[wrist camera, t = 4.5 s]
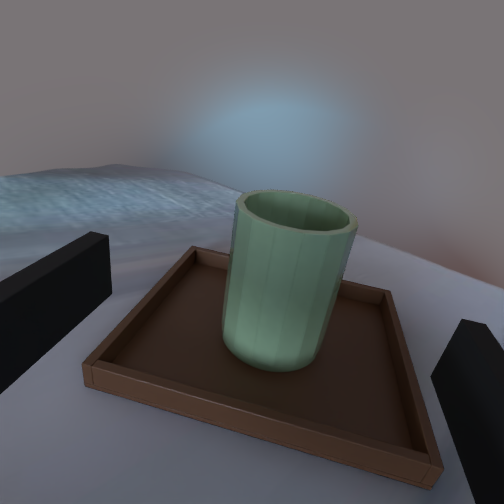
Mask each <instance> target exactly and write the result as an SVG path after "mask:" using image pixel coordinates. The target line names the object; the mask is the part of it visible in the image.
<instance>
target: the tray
mask: <svg viewBox="0 0 504 504" xmlns="http://www.w3.org/2000/svg"><path fill="white" fill-rule="evenodd" d="M229 255H230V254H226V253H222V252H217V251H213V250H209V249H204V248H200V247H195V246H191V247H190V248H189V250H188V251H187V252H186V253H185V254H184V255H183V256H182V257H181V258H180V259H179V260H178V261H177V262H176V263H175V264H174V266H173V267H172V268H171V269H170V270H169V271H168V272H167V273H166V274H165V275H164V276H163V277H162V278H161V279H160V281H159V282H158V283H157V284H156V285H155V286H154V287H153V288H152V289H151V290H150V291H149V292H148V293H147V294H146V295H145V297H144V298H143V299H142V300H141V301H140V302H139V303H138V304H137V305H136V306H135V307H134V308H133V309H132V310H131V311H130V313H129V314H128V315H127V316H126V317H125V318H124V319H123V320H122V321H121V322H120V323H119V324H118V325H117V326H116V328H115V329H114V330H113V331H112V332H111V333H110V334H109V335H108V336H107V337H106V338H105V339H104V340H103V341H102V342H101V344H100V345H99V346H98V347H97V348H96V349H95V350H94V351H93V352H92V353H91V354H90V355H89V356H88V357H87V358H86V360H85V361H84V362H83V363H82V369H83V377H84V385H85V386H86V387H90V388H93V389H96V390H100V391H103V392H106V393H110V394H113V395H116V396H120V397H123V398H126V399H130V400H133V401H136V402H139V403H143V404H146V405H149V406H153V407H156V408H159V409H163V410H166V411H169V412H173V413H176V414H179V415H183V416H186V417H189V418H193V419H196V420H199V421H202V422H206V423H209V424H212V425H216V426H219V427H222V428H226V429H229V430H232V431H236V432H239V433H242V434H246V435H249V436H252V437H256V438H259V439H262V440H266V441H269V442H272V443H275V444H279V445H282V446H285V447H289V448H292V449H295V450H299V451H302V452H305V453H309V454H312V455H315V456H319V457H322V458H325V459H329V460H332V461H335V462H339V463H342V464H345V465H348V466H352V467H355V468H358V469H362V470H365V471H368V472H372V473H375V474H378V475H382V476H385V477H388V478H392V479H395V480H398V481H402V482H405V483H408V484H412V485H415V486H418V487H421V488H425V489H428V490H431V489H432V486H433V485H434V484H435V482H436V481H437V479H438V478H439V476H440V475H441V473H442V472H443V471H444V467H443V463H442V460H441V457H440V453H439V450H438V447H437V443H436V440H435V437H434V433H433V430H432V427H431V424H430V420H429V417H428V414H427V410H426V407H425V404H424V400H423V397H422V394H421V390H420V387H419V384H418V381H417V377H416V374H415V371H414V367H413V364H412V361H411V357H410V354H409V351H408V347H407V344H406V341H405V338H404V334H403V331H402V328H401V324H400V321H399V318H398V314H397V311H396V308H395V305H394V301H393V298H392V295H391V291H389V290H384V289H380V288H376V287H372V286H367V285H363V284H358V283H354V282H350V281H345V280H341V284H340V287H339V290H338V293H337V297H336V300H335V303H334V306H333V310H332V313H331V316H330V319H329V323H328V326H327V329H326V332H325V336H324V339H323V342H322V345H321V347H320V349H319V352H318V354H317V356H316V358H315V359H314V360H313V361H312V362H311V363H310V364H308V365H307V366H305V367H303V368H301V369H298V370H295V371H291V372H270V371H265V370H261V369H258V368H254V367H252V366H250V365H248V364H246V363H244V362H242V361H241V360H239V359H238V358H237V357H236V356H234V355H233V354H232V353H231V352H230V350H229V349H228V348H227V346H226V345H225V343H224V340H223V337H222V314H223V306H224V297H225V289H226V281H227V272H228V264H229Z"/></svg>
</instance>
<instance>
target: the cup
mask: <svg viewBox="0 0 504 504" xmlns="http://www.w3.org/2000/svg"><path fill="white" fill-rule="evenodd" d="M357 228H358V222H357V217H356V216H355V215H353V214H352V213H351V212H350V211H349V210H347V209H346V208H344V207H342V206H340V205H338V204H336V203H334V202H332V201H329V200H326V199H322V198H319V197H316V196H313V195H308V194H303V193H298V192H293V191H282V190H256V191H251V192H248V193H244V194H242V195H241V196H240V197H239V198H238V199H237V200H236V205H235V213H234V222H233V230H232V238H231V247H230V255H229V264H228V272H227V281H226V289H225V297H224V306H223V314H222V337H223V340H224V343H225V345H226V346H227V348H228V349H229V350H230V352H231V353H232V354H233V355H234V356H236V357H237V358H238V359H239V360H241V361H242V362H244V363H246V364H248V365H250V366H252V367H254V368H258V369H261V370H265V371H270V372H291V371H295V370H298V369H301V368H303V367H305V366H307V365H308V364H310V363H311V362H312V361H313V360H314V359H315V358H316V356H317V354H318V352H319V349H320V347H321V345H322V342H323V339H324V336H325V332H326V329H327V326H328V323H329V319H330V316H331V313H332V310H333V306H334V303H335V300H336V297H337V293H338V290H339V287H340V284H341V280H342V277H343V274H344V271H345V267H346V264H347V261H348V258H349V254H350V251H351V248H352V245H353V241H354V238H355V235H356V231H357Z"/></svg>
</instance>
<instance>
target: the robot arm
mask: <svg viewBox="0 0 504 504" xmlns="http://www.w3.org/2000/svg"><path fill="white" fill-rule="evenodd" d="M111 294H112V282H111V266H110V250H109V235H104V234H100V233H96V232H92V231H90V232H89V233H87V234H85V235H83V236H82V237H80V238H78V239H76V240H74V241H73V242H71V243H69V244H67V245H65V246H64V247H62V248H60V249H58V250H56V251H55V252H53V253H51V254H49V255H47V256H46V257H44V258H42V259H40V260H39V261H37V262H35V263H33V264H31V265H30V266H28V267H26V268H24V269H22V270H21V271H19V272H17V273H15V274H13V275H12V276H10V277H8V278H6V279H4V280H3V281H1V282H0V394H1V393H2V392H3V391H5V390H6V389H7V388H8V387H9V386H10V385H11V384H12V383H13V382H15V381H16V380H17V379H18V378H19V377H20V376H21V375H22V374H23V373H25V372H26V371H27V370H28V369H29V368H30V367H31V366H32V365H34V364H35V363H36V362H37V361H38V360H39V359H40V358H41V357H42V356H44V355H45V354H46V353H47V352H48V351H49V350H50V349H51V348H52V347H54V346H55V345H56V344H57V343H58V342H59V341H60V340H61V339H62V338H64V337H65V336H66V335H67V334H68V333H69V332H70V331H71V330H72V329H74V328H75V327H76V326H77V325H78V324H79V323H80V322H81V321H82V320H84V319H85V318H86V317H87V316H88V315H89V314H90V313H91V312H92V311H94V310H95V309H96V308H97V307H98V306H99V305H100V304H101V303H102V302H104V301H105V300H106V299H107V298H108V297H109V296H110V295H111ZM430 377H431V380H432V383H433V386H434V388H435V391H436V394H437V397H438V399H439V402H440V405H441V408H442V411H443V413H444V416H445V419H446V422H447V425H448V427H449V430H450V433H451V436H452V439H453V441H454V444H455V447H456V450H457V453H458V455H459V458H460V461H461V464H462V467H463V469H464V472H465V475H466V478H467V481H468V483H469V486H470V489H471V492H472V495H473V497H474V500H475V503H476V504H504V350H503V349H502V347H501V346H500V344H499V343H498V341H497V340H496V338H495V337H494V335H493V334H492V333H491V331H490V330H489V328H488V327H487V325H486V324H482V323H478V322H474V321H470V320H465V319H461V321H460V323H459V325H458V327H457V329H456V330H455V332H454V334H453V336H452V338H451V340H450V341H449V343H448V345H447V347H446V349H445V350H444V352H443V354H442V356H441V358H440V360H439V361H438V363H437V365H436V367H435V369H434V371H433V372H432V374H431V376H430Z"/></svg>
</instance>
